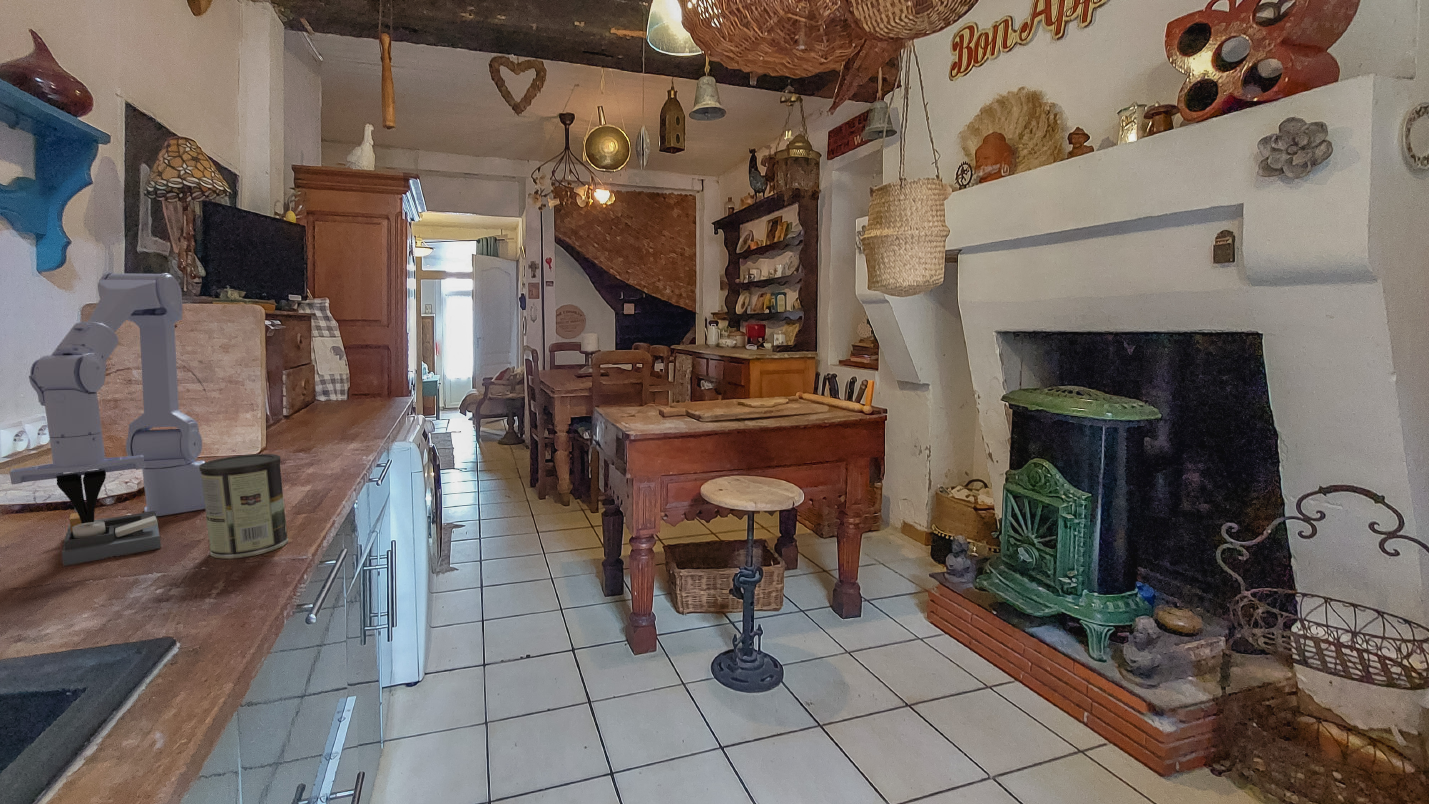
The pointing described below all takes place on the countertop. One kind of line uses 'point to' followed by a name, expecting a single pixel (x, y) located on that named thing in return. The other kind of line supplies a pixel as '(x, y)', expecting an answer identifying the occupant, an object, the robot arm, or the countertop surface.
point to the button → (89, 529)
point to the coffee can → (244, 505)
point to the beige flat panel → (136, 526)
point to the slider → (74, 520)
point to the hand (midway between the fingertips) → (88, 521)
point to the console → (111, 541)
